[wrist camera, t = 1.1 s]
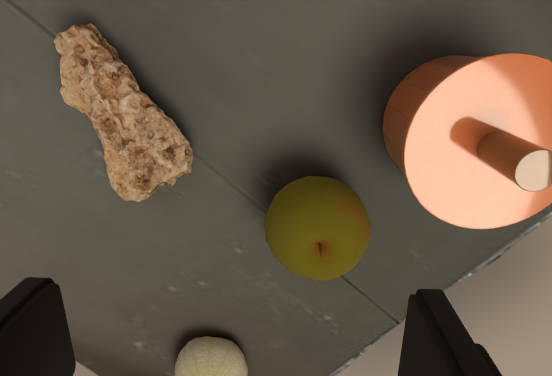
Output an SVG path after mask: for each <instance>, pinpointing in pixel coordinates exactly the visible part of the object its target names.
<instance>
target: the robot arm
mask: <svg viewBox="0 0 552 376" xmlns="http://www.w3.org/2000/svg"><path fill="white" fill-rule="evenodd" d="M75 364H76V363H75V357H74V352H73V348H72V343H71V338H70V333H69V329H68V324H67V319H66V314H65V310H64V305H63V300H62V295H61V291H60V287H59V285H58V284H55V283H54V281H53V280H52V279H51V278H35V277H29V278H26V279H24V280H23V281H22V282H20V283H19V284H18V285H17V286H16V287H15V288H13V289H12V290H11V291H10V292H9V293H8V294H7V295H5V296H4V297H3V298H2V299H1V300H0V376H73V374H74V371H75ZM398 376H502V375H501V373H500V372H499V370H498V369H497V367H496V365H495V364H494V362H493V360H492V359H491V358H490V356H489V354H488V353H487V351H486V350H485V348H484V347H483V346H482V345H480V344H475V343H474V342H473V340H472V338H471V337H470V335H469V334H468V332H467V330H466V329H465V327H464V325H463V324H462V322H461V320H460V319H459V317H458V315H457V314H456V312H455V310H454V309H453V307H452V305H451V304H450V302H449V301H448V299H447V297H446V296H445V294H444V292H443V291H442V290H439V289H418V290H417V292H416V294H411V295H410V296H409V301H408V308H407V315H406V322H405V329H404V336H403V343H402V349H401V356H400V364H399V370H398Z"/></svg>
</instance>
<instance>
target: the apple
mask: <svg viewBox="0 0 552 376" xmlns="http://www.w3.org/2000/svg"><path fill="white" fill-rule="evenodd" d="M264 227H265V235H266V241H267V243H268V245H269V247H270V249H271V251H272V253H273V255H274V257H275V258H276V259H277V260H278V261H279V262H280V263H281V264H282V265H283V266H285V267H286V268H287V269H288V270H290V271H291V272H292V273H294V274H296V275H299V276H301V277H304V278H306V279H309V280H324V281H327V280H330V279H333V278H336V277H339V276H342V275H344V274H345V273H346V272H348V271H349V270H350V269H352V268H353V267H355V266H356V265H357V264H358V262H359V260H360V259H361V257H362V255H363V254H364V252H365V250H366V249H367V247H368V245H369V243H370V221H369V218H368V216H367V213H366V210H365V207H364V205H363V203H362V201H361V199H360V198H359V196H358V195H357V194H356V193H355V192H354V191H353V190H352V189H351V188H350V187H349V186H348V185H347V184H346V183H343V182H341V181H338V180H335V179H332V178H329V177H321V176H306V177H304V178H301V179H298V180H295V181H293V182H290V183H289V184H288V185H286V186H285V187H284V188H283V189H282V190H280V191H279V192H278V193H277V194H276V195H275V197H274V199H273V201H272V203H271V205H270V207H269V209H268V211H267V214H266V217H265V219H264Z"/></svg>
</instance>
